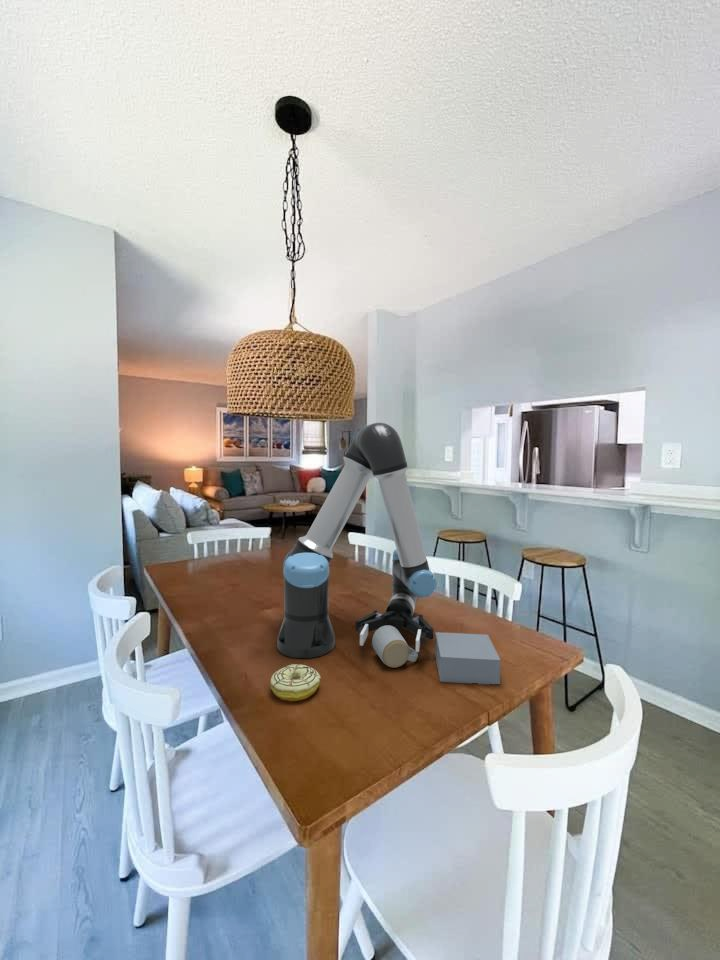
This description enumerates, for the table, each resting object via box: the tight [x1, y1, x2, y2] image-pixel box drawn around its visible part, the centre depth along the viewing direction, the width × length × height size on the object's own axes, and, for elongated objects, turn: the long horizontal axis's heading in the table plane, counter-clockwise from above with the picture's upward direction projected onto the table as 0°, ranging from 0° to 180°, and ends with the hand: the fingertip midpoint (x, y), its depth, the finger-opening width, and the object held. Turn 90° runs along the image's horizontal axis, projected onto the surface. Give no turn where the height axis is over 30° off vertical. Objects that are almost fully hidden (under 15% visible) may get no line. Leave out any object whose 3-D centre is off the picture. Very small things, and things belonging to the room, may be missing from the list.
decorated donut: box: [270, 663, 321, 702], centre depth 89 cm, size 10×11×4 cm
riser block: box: [434, 631, 501, 685], centre depth 98 cm, size 13×13×6 cm
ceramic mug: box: [371, 625, 419, 669], centre depth 102 cm, size 11×8×8 cm
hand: (388, 643), depth 98 cm, fingers open, 13 cm apart
